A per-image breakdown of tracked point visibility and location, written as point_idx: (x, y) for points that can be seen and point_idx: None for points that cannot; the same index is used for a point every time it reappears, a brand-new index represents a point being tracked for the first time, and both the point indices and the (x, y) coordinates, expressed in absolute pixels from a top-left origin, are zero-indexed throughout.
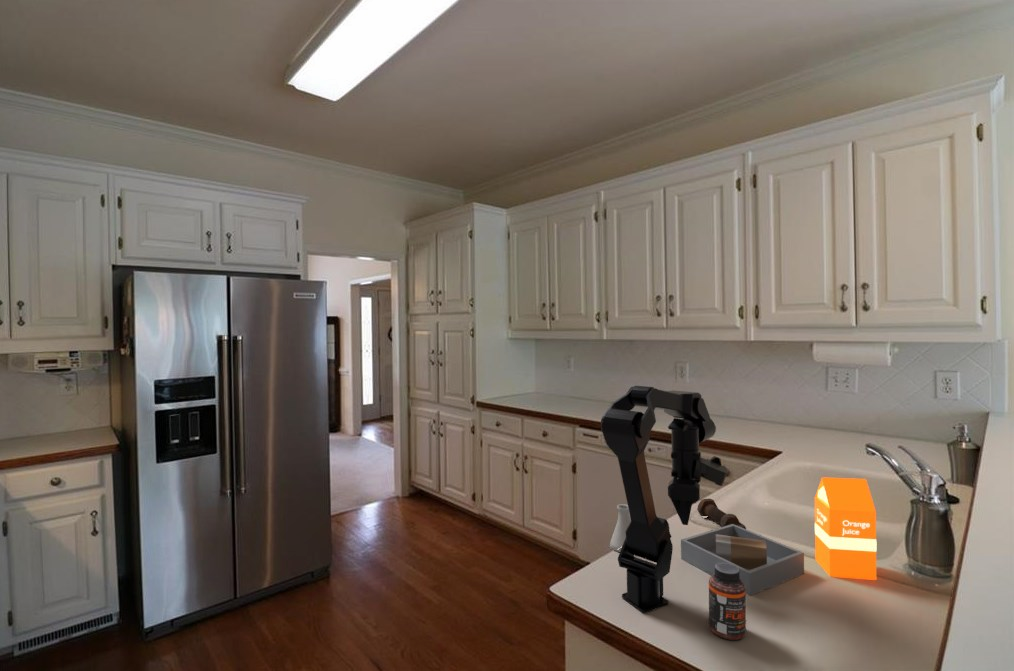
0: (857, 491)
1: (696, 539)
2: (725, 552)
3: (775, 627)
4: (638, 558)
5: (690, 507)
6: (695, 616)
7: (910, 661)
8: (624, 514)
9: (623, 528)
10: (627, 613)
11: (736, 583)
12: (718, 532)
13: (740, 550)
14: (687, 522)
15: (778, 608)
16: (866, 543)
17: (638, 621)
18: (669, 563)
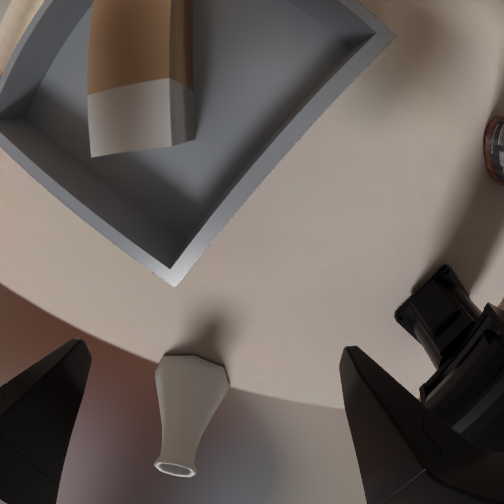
0: None
1: (124, 228)
2: (182, 105)
3: (468, 45)
4: (438, 378)
5: (458, 436)
6: (475, 207)
7: None
8: (191, 455)
9: (203, 424)
10: None
11: None
12: (35, 157)
13: (175, 45)
14: (365, 358)
15: (395, 4)
16: None
17: (481, 301)
18: (501, 316)
